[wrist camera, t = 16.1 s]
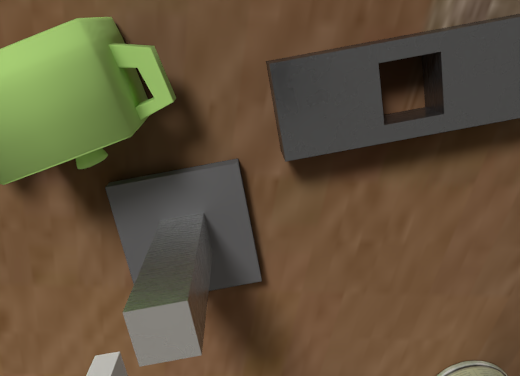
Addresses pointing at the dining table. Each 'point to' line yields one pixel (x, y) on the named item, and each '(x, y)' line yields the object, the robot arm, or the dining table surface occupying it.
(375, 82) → the grey block with hole
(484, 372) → the coffee can
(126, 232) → the rubber mat
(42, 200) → the dining table surface
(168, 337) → the steel peg
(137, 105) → the green block with pegs
